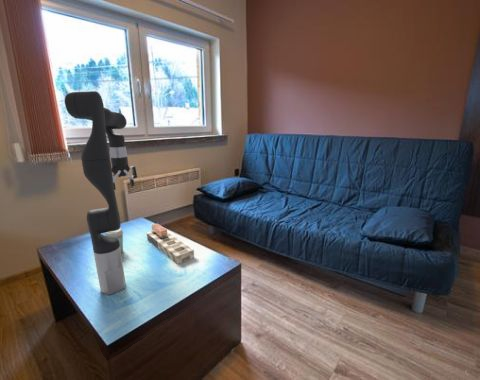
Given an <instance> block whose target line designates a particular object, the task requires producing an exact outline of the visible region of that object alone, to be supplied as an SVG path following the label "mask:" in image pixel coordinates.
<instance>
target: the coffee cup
mask: <svg viewBox="0 0 480 380" xmlns="http://www.w3.org/2000/svg"><path fill="white" fill-rule="evenodd" d="M123 234H124V231H123V229H122V228H121V227H120V228H119V230H116V231H111V232H106V233H104V235H105V236H111V237H116V238H118V240H119V243H120V249H121V252H122V253H123V251H124V236H123Z"/></svg>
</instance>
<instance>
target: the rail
mask: <svg viewBox="0 0 480 380" xmlns="http://www.w3.org/2000/svg"><path fill="white" fill-rule="evenodd" d="M146 240H147V241H148V242H149V243H150V244H151V245H154V246H155V247H156V248H157V249H159V250H160V251H161V252H162V253H163V254H165V256H167V257H168V258H169V259H171V260H172V261H173V262H174V263H175V264H177V265H179V264H182V263H185V262H186V261H189V260H192V259H194V258H195V251H194V249H193V248H191V246H188V245H187V244H186V243H184V242H183V241H181V240H180V239H178V238H177V237H175V236H174V235H172V234H170V233H169V232H168V231H167V238H165V239H162V240H161V239H160V235H158V234H153V230H151V231H148V232H146Z"/></svg>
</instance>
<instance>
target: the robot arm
mask: <svg viewBox="0 0 480 380" xmlns="http://www.w3.org/2000/svg"><path fill="white" fill-rule="evenodd" d="M64 105H65V110H66V111H67V113H68V115H70V116H71V117H72V118H73V119H77V120H88V121H91V123H92V126H91V132H90V135H89V138H88V140H86V141H87V142H86V144H85V146H84V148H83V149H82V152H81V157H80V158H81V166H82V170H83V171H82V172H83V175H84V176H85V178H86V179H87V180H88V182H89V183H90V184H91V185H92V186H93V187H95V189H96V190H97V191H99V193H100V194H101V196H102V197H103V198H104V200H105V201H106V203H107V205H108V207H103V208H96V209H90V210H88V211H87V213H86V223H87V228H88V230H89V231H88V232H89V236H90V239H91V243H92V244H91V245H92V250H93V256H94V261H95V267H96V273H97V279H98V283H99V289H100V293H102V294H105V295H108V296H110V295H112V294H115V293H117V292H120V291H123V290H125V289H126V288H125V286H126V278H125V277H126V276H125V271H124V264H123V258H122V253H121V249H120V243H119V240H118V238H116V237H111V236H105V233H106V232H111V231H116V230H119V228H121V226H122V225H121V216H120V211H119V207H118V201H117V197H116V193H115V192H116V191H115V190H116V184H115V181H116V179H117V178H121V177H126V176H127V177H128V178H129V185H130V187H131V188H133V187H134V186H135V180H134V179H137V178H138V174H137V169H136V166H134V165H132V166H129V161H128V160H129V159H128V153H127V152H128V151H127V148H126V141H125V136H124V135H123V134H121V133H120V134H119V133H116V132H114V130H123V129H125V127H126V126H127V118H126V117H125V115H124V114H123V113H120V112H118V111H117V112H116V111H112V110H110V109H109V108H107V107H106V106H104V101H103V98H102V95H101V94H100V92H99V91H97V90H87V91H86V90H84V91H83V90H82V91H71V92H68V93H67V94H65V97H64ZM107 139H108V140H107ZM130 171H131V172H132V175H131V174H130V173H129V172H130Z"/></svg>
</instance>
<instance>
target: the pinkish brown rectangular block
mask: <svg viewBox="0 0 480 380" xmlns="http://www.w3.org/2000/svg"><path fill="white" fill-rule="evenodd" d="M151 231H153V234H158V235H160V239H161V240H162V239H165V238H167V232H168V230H167V228H166V227H163V226H162V225H161V224H159V223H153V224H151Z"/></svg>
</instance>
